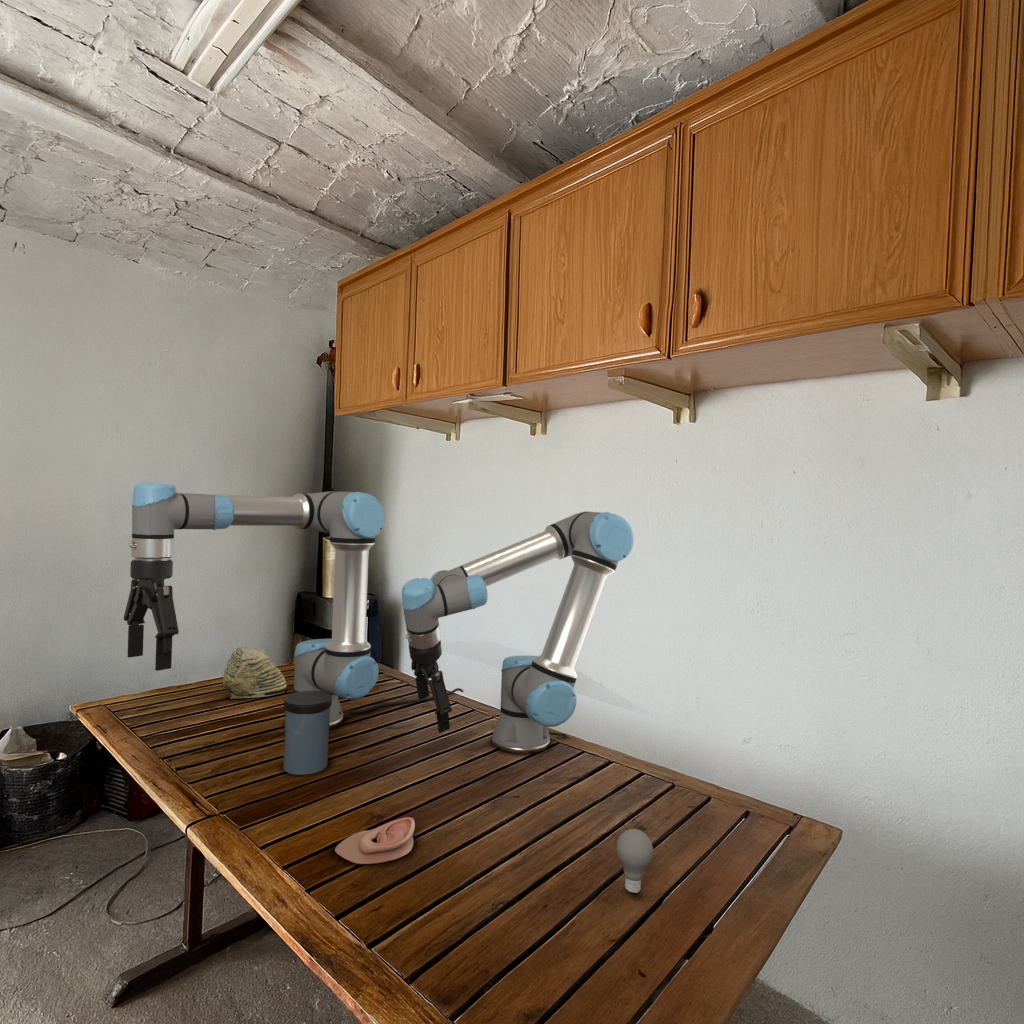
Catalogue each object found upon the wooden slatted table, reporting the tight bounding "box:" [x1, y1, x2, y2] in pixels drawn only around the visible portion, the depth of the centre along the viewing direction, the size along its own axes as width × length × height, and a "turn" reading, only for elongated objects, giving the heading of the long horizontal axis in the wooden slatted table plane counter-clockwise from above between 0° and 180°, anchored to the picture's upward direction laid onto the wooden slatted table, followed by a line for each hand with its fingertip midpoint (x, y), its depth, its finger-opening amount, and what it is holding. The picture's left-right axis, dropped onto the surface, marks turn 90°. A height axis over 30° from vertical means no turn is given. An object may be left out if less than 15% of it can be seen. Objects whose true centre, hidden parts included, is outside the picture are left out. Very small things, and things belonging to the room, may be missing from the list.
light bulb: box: [615, 828, 654, 894], centre depth 106 cm, size 6×6×10 cm
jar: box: [282, 708, 330, 776], centre depth 148 cm, size 10×10×16 cm
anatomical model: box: [334, 816, 416, 865], centre depth 115 cm, size 13×4×12 cm
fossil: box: [222, 646, 288, 699], centre depth 198 cm, size 9×18×15 cm, turn 132°
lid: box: [283, 691, 332, 714], centre depth 148 cm, size 11×11×2 cm
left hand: (148, 662), depth 129 cm, fingers open, 13 cm apart
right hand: (433, 713), depth 156 cm, fingers open, 13 cm apart
